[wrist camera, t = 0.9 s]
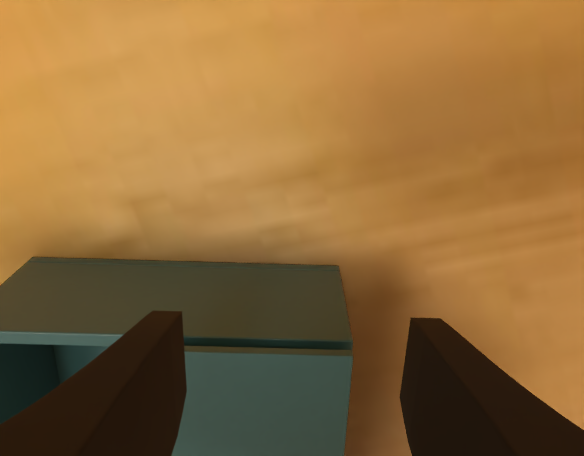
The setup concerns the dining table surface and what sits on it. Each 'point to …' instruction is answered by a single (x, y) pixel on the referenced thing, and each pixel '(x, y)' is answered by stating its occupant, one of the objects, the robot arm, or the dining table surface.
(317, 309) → the storage box
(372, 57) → the dining table surface
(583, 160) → the dining table surface
